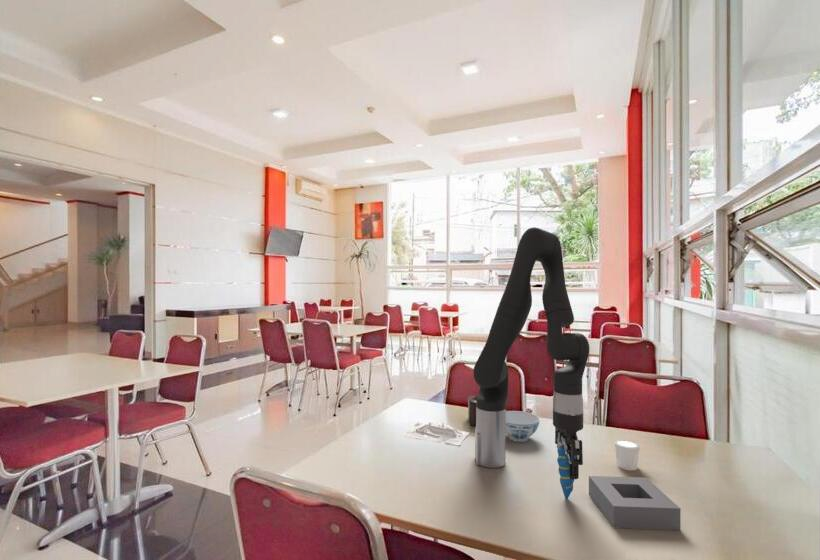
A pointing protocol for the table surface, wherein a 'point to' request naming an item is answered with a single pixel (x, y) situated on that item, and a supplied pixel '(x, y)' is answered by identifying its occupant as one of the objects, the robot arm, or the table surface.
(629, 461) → the white short cylinder
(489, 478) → the table surface
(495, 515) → the table surface
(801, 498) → the table surface
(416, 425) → the terrain model
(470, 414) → the pepper mill
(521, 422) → the chinaware
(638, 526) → the socket block
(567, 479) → the ornament
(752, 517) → the table surface
